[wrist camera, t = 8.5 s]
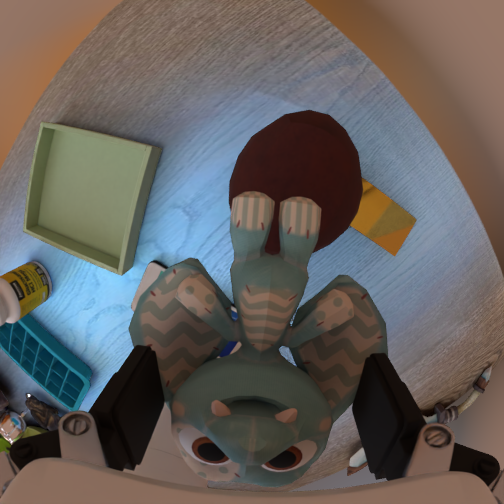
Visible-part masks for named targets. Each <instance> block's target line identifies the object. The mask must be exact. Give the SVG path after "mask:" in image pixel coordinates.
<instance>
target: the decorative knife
mask: <svg viewBox="0 0 504 504" xmlns="http://www.w3.org/2000/svg"><path fill="white" fill-rule="evenodd" d="M490 374H491V367H490V368H488V369H486V370H485V371H484V373H483V374H482V375H481V376H480V378H479V380H478V382H477V384H475V385H474V386H473V388H474V390H473V392H472V393H471V395H470V396H469V397H468V399H467V400H466V401H465V402H464V403H462V404H461V405H459V406H457V407H456V406H452V407H450V408H449V409H446V410H445V409H444V407H443V406H442V405H441V404H440V403H439V404H437V405H435V408H434V415H433V416H431V417H430V416H429V417H425V416H423V417H424V419H425V421H426V423H427V424H429V423H435V422H436V423H442V424H446V423H448V422H451V421H454V420H456V419H457V418H458V415H459V414H460V413H461V412H462V411H464V410H465V409H466V408H467V407H469V406H470V405H471V404H472V403H473V402H474V401H475V399H476V398H477V397H478V395H479V393H483V392H484V391H485V389H484V388H485V387H486V386H487V384H488V382H489V378H490ZM367 465H368V463H367V459H366V456H365V452H364V449H363V447H362V448H361V449H360V450H359V451H358V452H357V453H356V454H354V455H353V456H352V457H351V458H350V466H349V467H348V468H347V470H348V471H347V475H348V476H349V475H351V474H353V473H355V472H357V471H359V470H361V469H362V468H364V467H365V466H367Z"/></svg>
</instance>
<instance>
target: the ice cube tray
mask: <svg viewBox="0 0 504 504" xmlns="http://www.w3.org/2000/svg"><path fill="white" fill-rule="evenodd" d="M0 347H1V349H2V350H3V351H4V352H5V353H6V354H7V355H8V356H9V357H10V358H11V359H12V360H13V361H14V362H15V363H16V364H17V365H18V366H19V367H20V368H21V369H22V370H23V371H24V372H25V373H26V374H28V375H29V376H30V377H31V378H32V379H33V380H34V381H35V382H36V383H37V384H39V385H40V386H41V387H42V388H43V389H44V390H46V391H47V392H48V393H49V394H50V395H51V396H53V397H54V398H55V399H56V400H58V401H59V402H60V403H61V404H63V405H64V406H65V407H66V408H68V409H69V410H70V411H78V409H79V407H80V405H81V403H82V401H83V399H84V397H85V395H86V394H87V392H88V390H89V388H90V386H91V384H90V381H89V379H90V377H91V375H92V370H91V369H90V368H89V366H87V365H86V364H85V363H84V362H82V361H81V360H80V359H79V358H77V357H76V356H75V355H74V354H73V353H71V352H70V351H69V350H68V349H67V348H65V347H64V346H63V345H62V344H61V343H60V342H58V341H57V340H56V339H55V338H54V337H53V336H52V335H51V334H49V333H48V332H47V331H46V330H45V329H44V328H43V327H42V326H41V325H40V324H39V323H38V322H37V321H36V320H35V319H34V318H33V317H31V316H30V315H29V314H26V315H25V316H24V317H22V318H21V319H19V320H18V321H17V322H15V323H7V322H5V323H4V324H3V325H2V326H0Z"/></svg>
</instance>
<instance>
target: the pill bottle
mask: <svg viewBox="0 0 504 504" xmlns="http://www.w3.org/2000/svg"><path fill="white" fill-rule="evenodd" d="M51 292H52V282H51V279H50V276H49V274H48V272H47V271H46V269H45V268H44V267H43V266H42V265H41V264H40V263H38V262H35V261H31V262H28V263H26V264H24V265H22V266H20V267H18V268H16V269H14V270H12V271H10V272H8V273H6V274H4V275H2V276H0V326H2V325H3V324H4V323H5V322H7V323H15V322H17V321H18V320H19V319H21V318H22V317H24V316H25V315H26V314H28V313H29V312H31V311H32V310H33V309H35V308H36V307H38V306H39V305H41V304H42V303H43V302H45V301H46V300H47V299H48V298H49V297H50V295H51Z"/></svg>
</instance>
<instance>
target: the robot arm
mask: <svg viewBox="0 0 504 504" xmlns="http://www.w3.org/2000/svg"><path fill="white" fill-rule="evenodd" d="M352 411H353V415H354V419H355V422H356V425H357V429H358V432H359V435H360V439H361V442H362V445H363V449H364V452H365V456H366V459H367V463H368V467H369V470H370V472H371V473H374V474H375V477H376V480H377V479H382V478H386V479H387V480H388V481H385V482H379V483H373V484H367V485H360V486H353V487H346V488H337V489H327V490H315V491H293V492H257V491H237V490H224V489H214V488H207V485H208V480H206V479H204V478H203V477H201V476H199V475H197V474H196V473H194V472H193V470H192V469H191V468H190V467H189V466H188V465H187V464H186V462H185V460H184V458H183V457H182V455H181V452H180V449H179V448H178V446H177V445H176V443H175V441H174V438H173V435H172V433H171V413H170V410H169V408H168V406H167V405H166V403H165V399H164V394H163V389H162V384H161V378H160V373H159V368H158V362H157V356H156V352H155V351H154V350H152V348H151V347H150V346H144V345H136V346H135V347H134V349H133V350H132V352H131V353H130V355H129V356H128V358H127V359H126V360H125V362H124V363H123V365H122V366H121V368H120V369H119V371H118V372H116V373H115V374H114V375H113V376H112V377H111V379H110V380H109V382H108V383H107V385H106V386H105V388H104V389H103V391H102V392H101V394H100V395H99V397H98V398H97V400H96V401H95V403H94V404H93V406H92V407H91V409H90V410H89V412H88V413H87V412H85V411H72V412H69V413H67V414H65V415H64V416H63V417H62V418H61V419H60V421H59V429H56V430H53V431H49V432H45V433H41V434H37V435H33V436H29V437H25V438H21V439H19V440H17V441H15V442H14V443H13V444H12V445H11V447H10V450H9V453H6V452H5V451H2V452H0V504H504V470H503V471H501V470H500V466H499V463H498V461H497V460H496V459H495V458H494V457H493V456H491V455H489V454H486V453H483V452H480V451H477V450H474V449H471V448H468V447H466V446H463V445H460V444H457V443H455V442H454V441H455V436H454V433H453V431H452V430H451V429H450V427H448V426H446V425H445V424H442V423H436V422H435V423H429V424H427V423H426V421H425V419H424V417H423V415H422V413H421V411H420V410H419V408H418V406H417V404H416V402H415V400H414V399H413V397H412V395H411V393H410V391H409V390H408V388H407V386H406V384H405V383H404V382H402V381H401V379H400V377H399V376H398V374H397V372H396V370H395V369H394V367H393V365H392V363H391V362H390V360H389V358H388V357H387V355H386V353H372V354H371V355H370V357H367V358H366V359H365V363H364V367H363V370H362V374H361V378H360V382H359V385H358V389H357V392H356V395H355V399H354V402H353V406H352Z"/></svg>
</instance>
